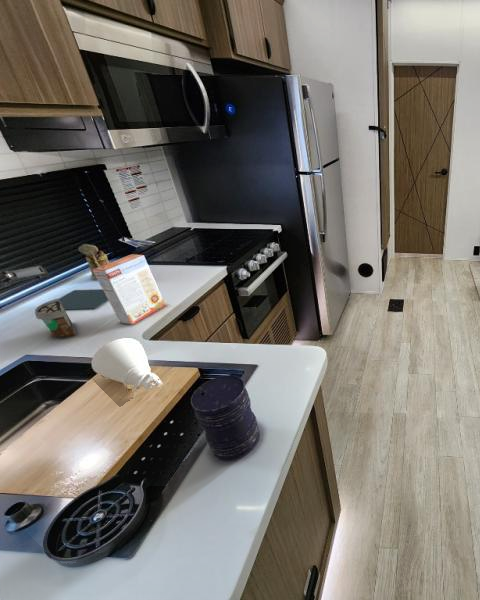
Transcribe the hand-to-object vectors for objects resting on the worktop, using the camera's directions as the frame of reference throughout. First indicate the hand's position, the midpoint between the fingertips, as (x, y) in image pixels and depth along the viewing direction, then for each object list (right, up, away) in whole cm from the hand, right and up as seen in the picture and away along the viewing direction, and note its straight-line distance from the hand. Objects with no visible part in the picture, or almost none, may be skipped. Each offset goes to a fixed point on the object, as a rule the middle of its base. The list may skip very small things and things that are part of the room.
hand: (21, 283), depth 100 cm
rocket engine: (+44, -29, -11) cm, 53 cm away
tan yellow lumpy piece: (-19, +5, +49) cm, 53 cm away
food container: (+2, -17, +11) cm, 20 cm away
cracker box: (+21, -11, +21) cm, 32 cm away
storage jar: (+79, -37, -27) cm, 91 cm away
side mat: (-11, -5, +31) cm, 33 cm away
